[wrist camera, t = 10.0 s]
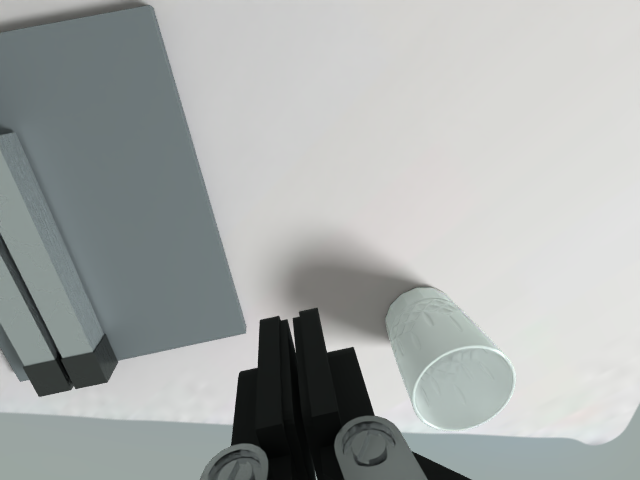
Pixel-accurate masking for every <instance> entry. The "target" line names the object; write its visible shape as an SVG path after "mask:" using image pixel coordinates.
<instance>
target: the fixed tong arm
mask: <svg viewBox="0 0 640 480" xmlns="http://www.w3.org/2000/svg"><path fill="white" fill-rule="evenodd" d="M0 323H1V325H2V327H3V329H4V330H5V332H6V334H7V336H8V338H9V339H10V341H11V343H12V345H13V347H14V348H15V350H16V352H17V354H18V355H19V357H20V359H21V361H22V363H23V364H24V367H23V369H24V371H25V373H26V374H27V376H28V378H29V380H30V382H31V383H32V385H33V387H34V389H35V390H36V392H37V394H38V396H39V397H41V396H46V395H50V394H55V393H59V392H64V391H69V390H71V389H72V388H73V386H74V385H73V383H72V381H71V379H70V377H69V375H68V373H67V371H66V369H65V367H64V365H63V363H62V361H61V359H62V356H61V354H60V352H59V350H58V348H57V346H56V344H55V342H54V340H53V338H52V336H51V334H50V332H49V330H48V328H47V326H46V324H45V322H44V320H43V318H42V316H41V314H40V312H39V310H38V308H37V306H36V304H35V302H34V300H33V298H32V296H31V294H30V292H29V290H28V288H27V286H26V284H25V282H24V280H23V278H22V276H21V273H20V271H19V269H18V267H17V265H16V263H15V261H14V259H13V257H12V255H11V253H10V251H9V249H8V247H7V245H6V243H5V241H4V239H3V237H2V235H1V233H0Z"/></svg>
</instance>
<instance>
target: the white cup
mask: <svg viewBox="0 0 640 480" xmlns="http://www.w3.org/2000/svg"><path fill="white" fill-rule="evenodd" d="M385 321H386V328H387V334H388V336H389V339H390V342H391V346H392V350H393V353H394V356H395V358H396V362H397V365H398V368H399V371H400V374H401V376H402V379H403V382H404V384H405V387H406V390H407V392H408V395H409V398H410V401H411V403H412V406H413V409H414V411H415V413H416V415H417V416H418V418H419V419H420V420H421V421H422V422H424V423H425V424H426V425H428V426H430V427H432V428H434V429H438V430H442V431H463V430H468V429H471V428H474V427H477V426H479V425H482V424H484V423H485V422H487V421H489V420H490V419H492V418H493V417H495V416H496V415H497V414H498V413H499V412H500V411H501V410H502V409H503V408H504V407H505V406H506V404H507V403H508V401H509V400H510V398H511V396H512V394H513V391H514V388H515V382H516V375H515V370H514V367H513V365H512V363H511V361H510V360H509V358H508V357H507V356H506V355H505V354H504V353H503V352H502V351H501V350H500V349H499V348H498V347H497V346H496V345H495V343H494V342H493V341H492V340H491V339H490V338H489V337H488V336H487V335H486V334H485V333H484V332H483V330H482V329H481V328H480V327H479V326H478V325H477V324H476V323H475V322H474V321H473V320H472V319H471V318H470V317H469V316H468V315H467V314H466V313H465V312H464V311H463V310H462V309H460V308H459V307H458V306H457V305H456V304H455V303H454V302H453V301H452V300H451V299H450V298H449V297H448V296H447V295H446V294H445V293H443V292H441V291H439V290H437V289H435V288H432V287H427V288H415V289H412V290H410V291H408V292H405V293H403V294H401V295H400V296H399V297H398V298H397V299H396V300H395V301H394V302H393V303H392V304H391V305H390V308H389V310H388V313H387V316H386V319H385Z"/></svg>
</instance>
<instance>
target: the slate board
mask: <svg viewBox="0 0 640 480" xmlns="http://www.w3.org/2000/svg"><path fill="white" fill-rule="evenodd" d="M13 132H16V134H17V137H18V139H19V141H20V143H21V146H22V148H23V150H24V153H25V155H26V157H27V159H28V162H29V164H30V166H31V169H32V171H33V173H34V175H35V178H36V180H37V182H38V185H39V187H40V189H41V191H42V194H43V196H44V198H45V201H46V203H47V205H48V207H49V210H50V212H51V214H52V217H53V219H54V221H55V223H56V226H57V228H58V230H59V233H60V235H61V237H62V239H63V242H64V244H65V246H66V249H67V251H68V253H69V255H70V258H71V260H72V262H73V265H74V267H75V269H76V271H77V274H78V276H79V278H80V281H81V283H82V285H83V287H84V290H85V292H86V294H87V297H88V299H89V301H90V303H91V306H92V308H93V310H94V313H95V315H96V317H97V319H98V322H99V324H100V326H101V329H102V331H103V333H104V334H106V335H107V338H108V340H109V342H110V345H111V347H112V349H113V351H114V354H115V356H116V358H117V361H119V360H123V359H128V358H133V357H137V356H142V355H147V354H151V353H156V352H161V351H165V350H170V349H175V348H179V347H184V346H189V345H193V344H198V343H203V342H207V341H212V340H217V339H221V338H226V337H231V336H235V335H240V334H245V333H246V324H245V320H244V317H243V314H242V310H241V307H240V303H239V300H238V296H237V293H236V290H235V286H234V283H233V279H232V276H231V272H230V269H229V266H228V262H227V259H226V255H225V252H224V248H223V245H222V242H221V238H220V235H219V231H218V228H217V224H216V221H215V218H214V214H213V211H212V207H211V204H210V200H209V197H208V194H207V190H206V187H205V183H204V180H203V176H202V173H201V170H200V166H199V163H198V159H197V156H196V152H195V149H194V146H193V142H192V139H191V135H190V132H189V128H188V125H187V122H186V118H185V115H184V111H183V108H182V104H181V101H180V98H179V94H178V91H177V87H176V84H175V80H174V77H173V74H172V70H171V67H170V63H169V60H168V56H167V53H166V50H165V46H164V43H163V39H162V36H161V32H160V29H159V26H158V22H157V19H156V15H155V12H154V8H153V7H152V6H150V5H147V6H142V7H136V8H131V9H126V10H120V11H115V12H109V13H104V14H99V15H93V16H88V17H82V18H77V19H71V20H66V21H61V22H55V23H50V24H44V25H39V26H34V27H28V28H23V29H17V30H12V31H6V32H1V33H0V135H2V134H8V133H13ZM0 348H1V350H2V351H3V353H4V355H5V357H6V358H7V360H8V362H9V363H10V365H11V367H12V369H13V370H14V372H15V374H16V376H17V377H18V379H19V381H20V382H21V381H26V380H29V378H28V376H27V374H26V373H25V371H24V369H23V367H24V364H23V363H22V361H21V359H20V357H19V355H18V354H17V352H16V350H15V348H14V347H13V345H12V343H11V341H10V339H9V338H8V336H7V334H6V332H5V330H4V329H3V327H2V325H1V323H0Z"/></svg>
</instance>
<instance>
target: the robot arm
mask: <svg viewBox="0 0 640 480" xmlns="http://www.w3.org/2000/svg"><path fill="white" fill-rule="evenodd" d="M299 315H300V317H296V318H293V326H294V337H295V348H296V352H295V348H294V344H293V340H292V336H291V332H290V328H289V324H288V320H287V319H286V320H282V321H281V320H280V317H279V316H276V317H272V318H267V319H262V320H260V328H259V350H258V368H254V369H250V370H245V371H240V373H239V377H238V386H237V395H236V404H235V414H234V423H233V434H232V442H231V446H230V447H228V448H226V449H224V450H222V451H221V452H220V453H218V454H217V455H216V456H215V457H213V458H212V459H211V461H210V462H209V463H208V464H207V465H206V467H205V469H204V471H203V473H202V475H201V478H200V480H316V476H317V479H318V480H471V479H469V478H467V477H465V476H463V475H461V474H459V473H456V472H454V471H452V470H450V469H448V468H446V467H444V466H442V465H440V464H438V463H435V462H433V461H431V460H429V459H427V458H425V457H423V456H421V455H419V454H417V453H414V452H412V451H411V450H410V448H409V446H408V444H407V443H406V441H405V439H404V438H403V436H402V434H401V432H400V431H399V429H398V428H397V427H396V426H395V425H394V424H393V423H392V422H390V421H389V420H387V419H385V418H382V417H378V416H375V415H374V412H373V409H372V406H371V402H370V399H369V396H368V392H367V389H366V386H365V383H364V379H363V376H362V373H361V370H360V366H359V363H358V360H357V356H356V353H355V350H354V348H353V347H351V348H346V349H342V350H337V351H332V352H328V353H327V351H326V346H325V341H324V337H323V332H322V327H321V322H320V317H319V313H318V308H314V309H309V310H304V311H300V312H299ZM315 472H316V476H315Z"/></svg>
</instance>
